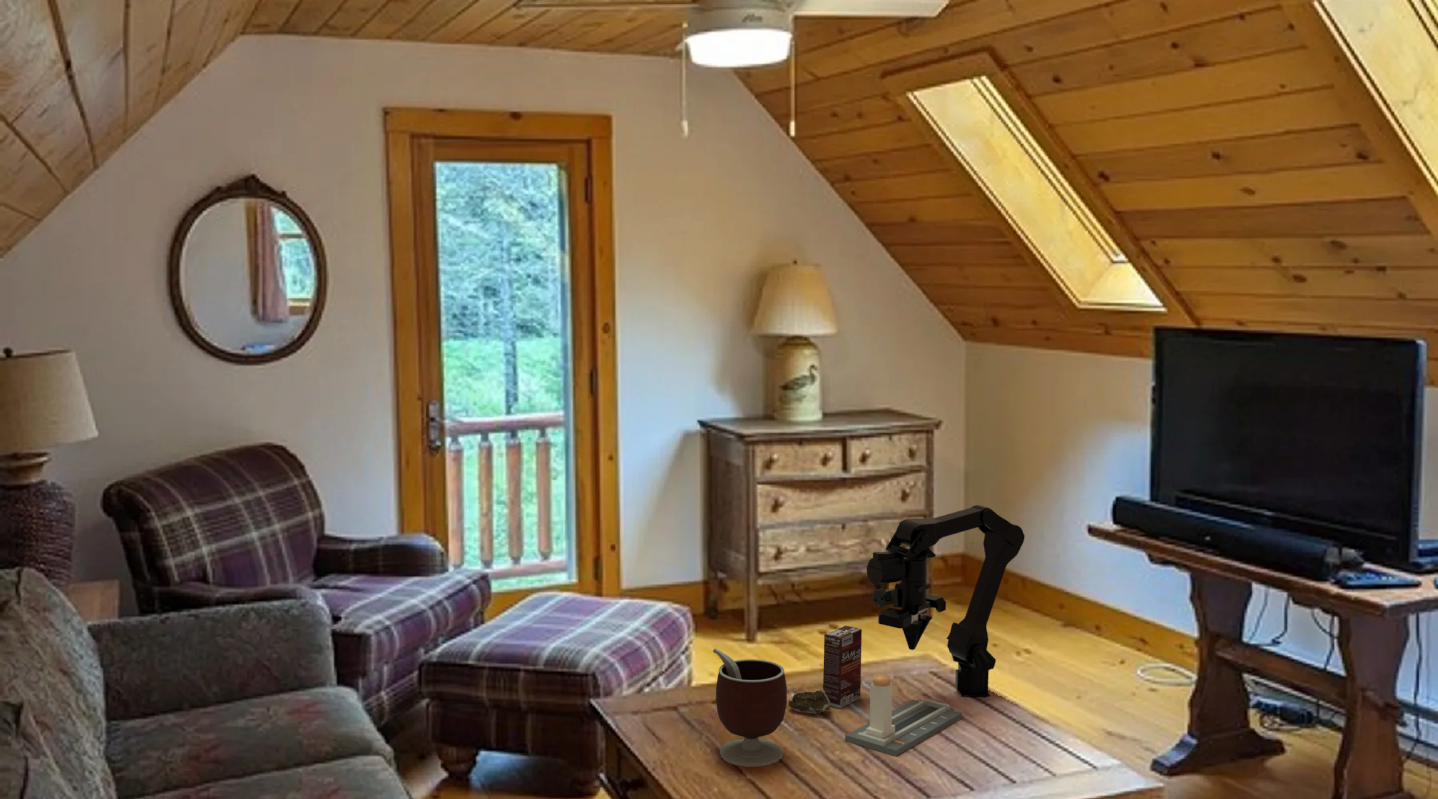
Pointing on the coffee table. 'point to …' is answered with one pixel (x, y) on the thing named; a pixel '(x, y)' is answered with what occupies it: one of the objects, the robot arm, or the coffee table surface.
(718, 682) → the mate gourd
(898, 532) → the robot arm
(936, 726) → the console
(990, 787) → the coffee table surface
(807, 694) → the rock sample
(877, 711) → the fader knob
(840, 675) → the supplement box
